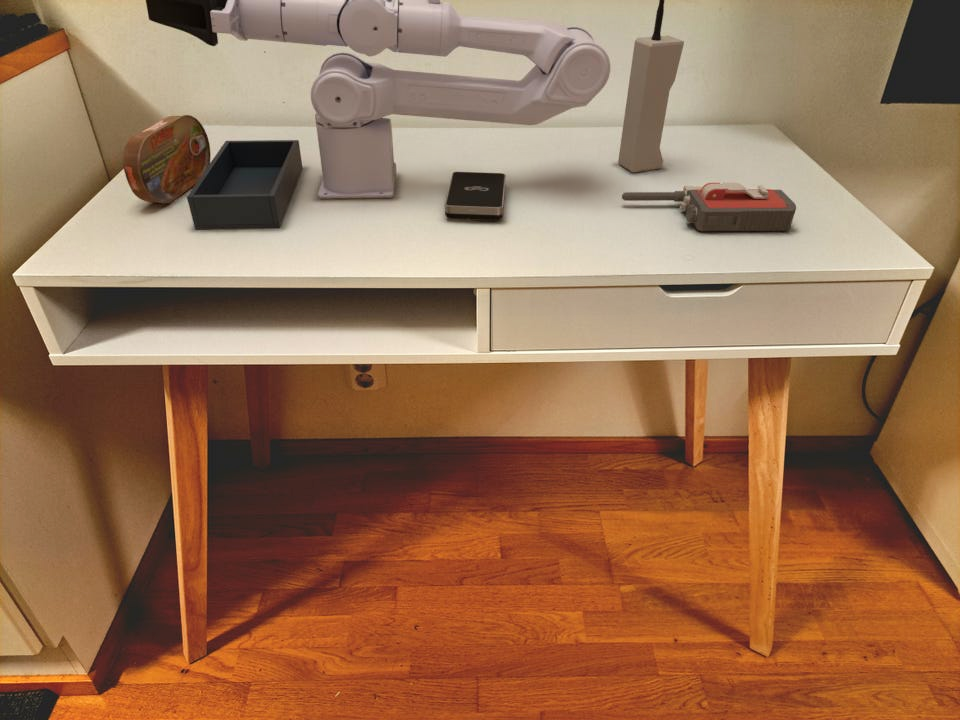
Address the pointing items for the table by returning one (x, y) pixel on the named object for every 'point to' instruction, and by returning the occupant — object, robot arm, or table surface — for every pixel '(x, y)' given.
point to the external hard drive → (475, 196)
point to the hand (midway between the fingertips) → (159, 2)
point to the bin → (247, 185)
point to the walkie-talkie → (728, 207)
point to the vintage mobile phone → (648, 98)
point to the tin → (166, 159)
